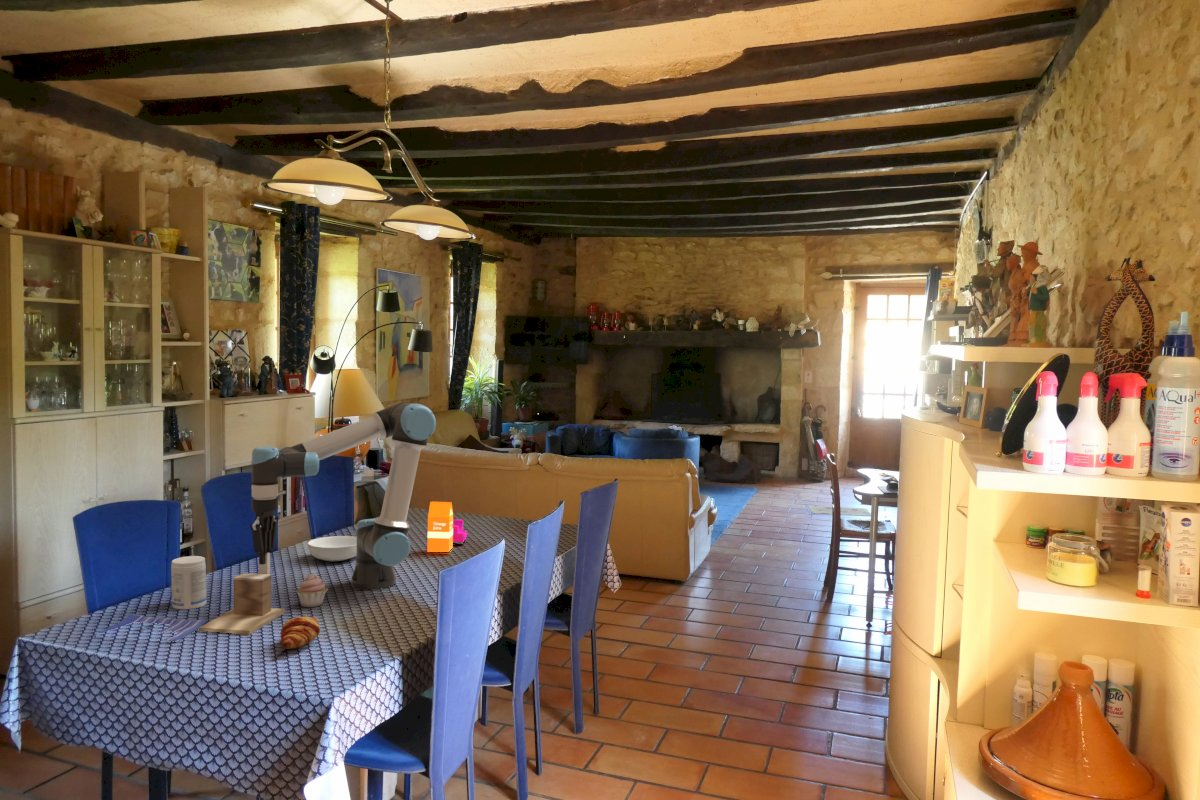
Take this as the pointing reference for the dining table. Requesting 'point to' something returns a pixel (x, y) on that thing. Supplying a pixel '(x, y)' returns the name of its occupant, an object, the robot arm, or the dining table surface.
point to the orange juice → (440, 527)
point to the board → (240, 622)
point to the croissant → (299, 632)
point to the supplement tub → (188, 582)
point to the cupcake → (312, 591)
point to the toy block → (458, 531)
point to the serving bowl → (333, 548)
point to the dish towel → (175, 625)
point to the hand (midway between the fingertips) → (264, 573)
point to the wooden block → (252, 594)
